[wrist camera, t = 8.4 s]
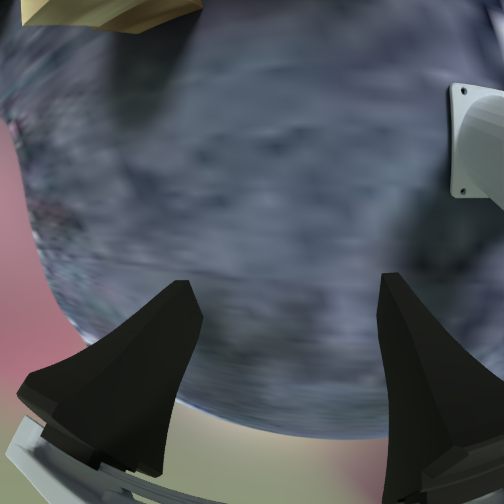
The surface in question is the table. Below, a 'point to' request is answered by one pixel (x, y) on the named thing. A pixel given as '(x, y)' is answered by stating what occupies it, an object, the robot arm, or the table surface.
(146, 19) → the tan wooden cube
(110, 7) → the oak block
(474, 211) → the table surface
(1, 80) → the table surface
